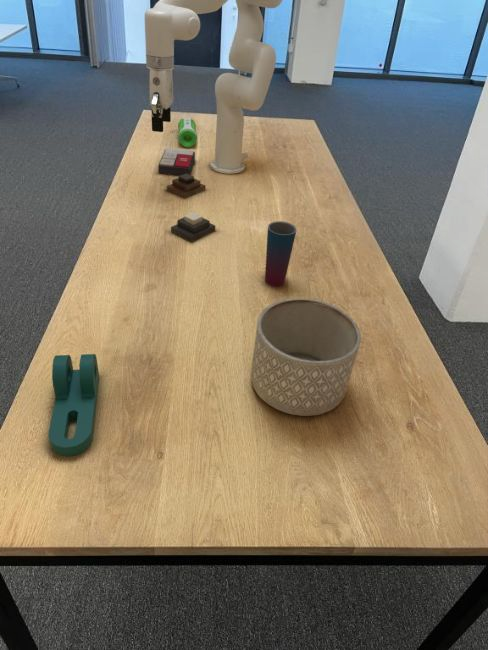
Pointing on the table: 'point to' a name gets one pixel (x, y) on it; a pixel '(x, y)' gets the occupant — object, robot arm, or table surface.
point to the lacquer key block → (192, 229)
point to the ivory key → (193, 218)
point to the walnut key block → (185, 188)
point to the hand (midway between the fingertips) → (161, 126)
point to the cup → (278, 251)
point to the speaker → (187, 132)
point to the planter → (304, 355)
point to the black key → (186, 178)
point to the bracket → (73, 403)
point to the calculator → (176, 162)
